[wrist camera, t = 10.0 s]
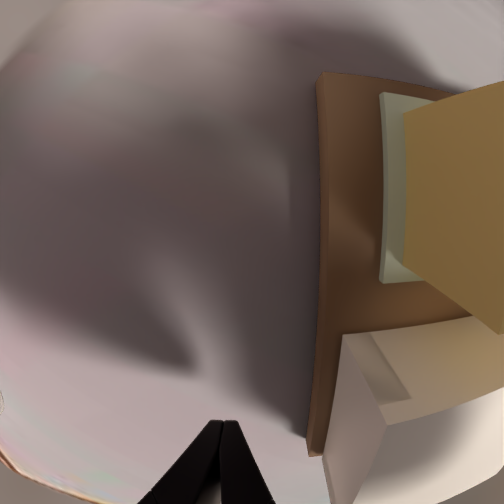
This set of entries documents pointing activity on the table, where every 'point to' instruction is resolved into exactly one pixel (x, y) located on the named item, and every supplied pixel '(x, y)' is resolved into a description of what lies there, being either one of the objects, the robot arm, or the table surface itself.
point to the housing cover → (416, 414)
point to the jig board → (358, 235)
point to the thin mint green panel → (395, 186)
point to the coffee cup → (1, 404)
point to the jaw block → (458, 199)
